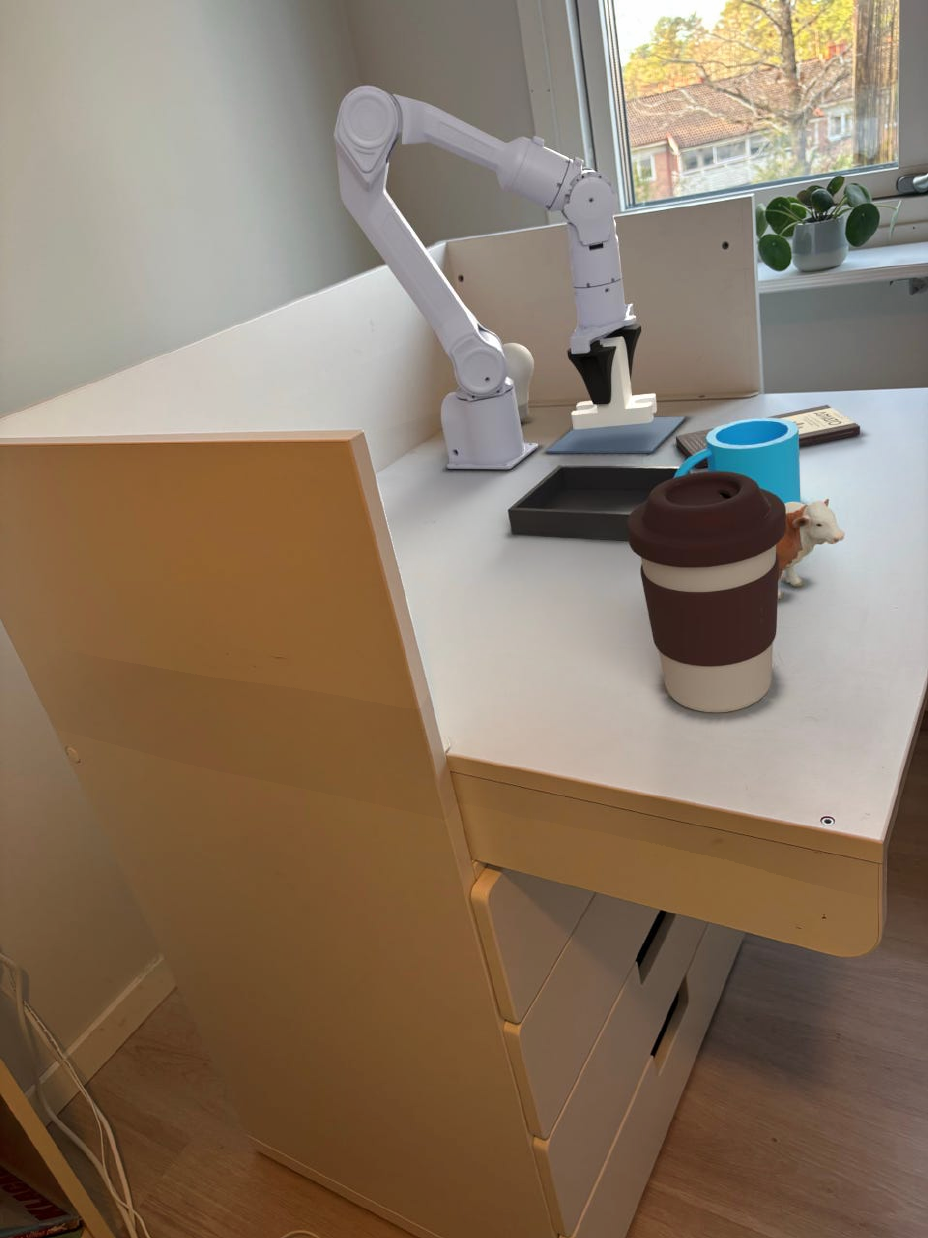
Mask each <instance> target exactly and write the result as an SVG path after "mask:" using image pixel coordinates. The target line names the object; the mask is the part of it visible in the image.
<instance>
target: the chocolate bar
mask: <svg viewBox="0 0 928 1238" xmlns="http://www.w3.org/2000/svg"><path fill="white" fill-rule="evenodd" d="M765 418H779V419H784V420H789V421H791V422H793V423H795V424H796V425H797V426H798V429H799V448H801V447H805V446H810V445H815V444H821V443H825V442H830V441H835V440H840V439H845V438H850V437H855V436H860V435H861V425H859V424H858V423H856V422H854V421H853V420H852V419H850V418H849V417H847V416H845V415H844V414H842V413H841V412H839V411H837V410H836V409H834V408H833V407H832V406H830V405H829V404H824V405H819V406H814V407H810V408H805V409H801V410H796V411H791V412H786V413H781V414H776V415H771V416H765ZM715 428H716V427H713V428H707V429H704V430H699V431H693V432H688V433H684V434H679V435H675V444H676V445H677V446H678V448H679V449H680V450H681V451H682V452H683V454H684V455H685V456H686V457H687V459H688V458H689V457H691V456H693V455H694V454H696V453H697V452H699V451H701V450H704V449H707V445H706V437H707V435H708V433H709V432H710V431H712V430H713V429H715ZM694 467H696V469H697V468H698V469H699V468H703V467H708V458H705V459H704V460H702V461H700V462H699V463H697V464H696V465H694Z"/></svg>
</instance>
